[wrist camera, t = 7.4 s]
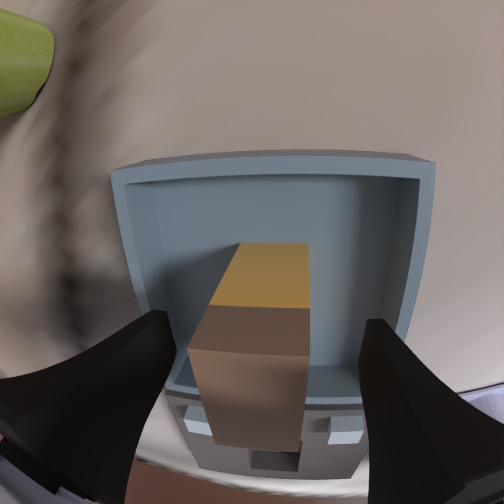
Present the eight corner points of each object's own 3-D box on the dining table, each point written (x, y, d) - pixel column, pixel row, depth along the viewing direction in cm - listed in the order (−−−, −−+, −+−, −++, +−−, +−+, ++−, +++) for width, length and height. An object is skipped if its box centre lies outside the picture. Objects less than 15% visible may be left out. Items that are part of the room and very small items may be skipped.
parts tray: (407, 154, 11) (435, 163, 8) (375, 364, 16) (382, 402, 13) (145, 160, 13) (109, 171, 10) (183, 355, 18) (166, 389, 15)
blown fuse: (308, 243, 13) (310, 356, 6) (305, 333, 15) (298, 452, 8) (240, 242, 13) (186, 348, 7) (248, 330, 15) (215, 444, 9)
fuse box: (383, 384, 16) (390, 422, 13) (350, 461, 21) (350, 489, 18) (175, 374, 19) (159, 408, 16) (204, 451, 23) (196, 477, 21)
